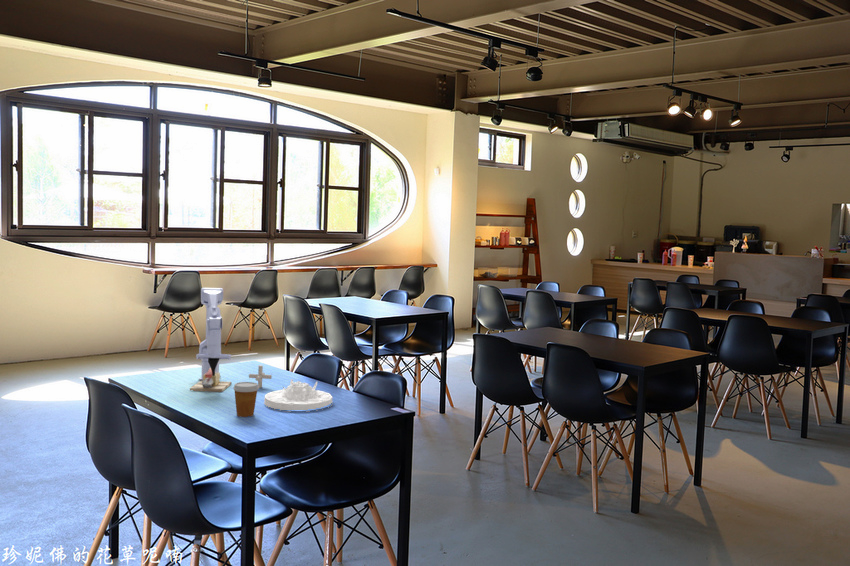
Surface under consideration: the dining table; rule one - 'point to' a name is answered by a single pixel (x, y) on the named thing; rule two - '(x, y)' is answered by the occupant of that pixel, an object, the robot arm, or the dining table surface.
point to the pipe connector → (260, 376)
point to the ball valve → (211, 381)
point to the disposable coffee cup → (245, 398)
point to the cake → (298, 397)
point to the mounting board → (218, 388)
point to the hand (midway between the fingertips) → (213, 375)
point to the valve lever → (208, 373)
